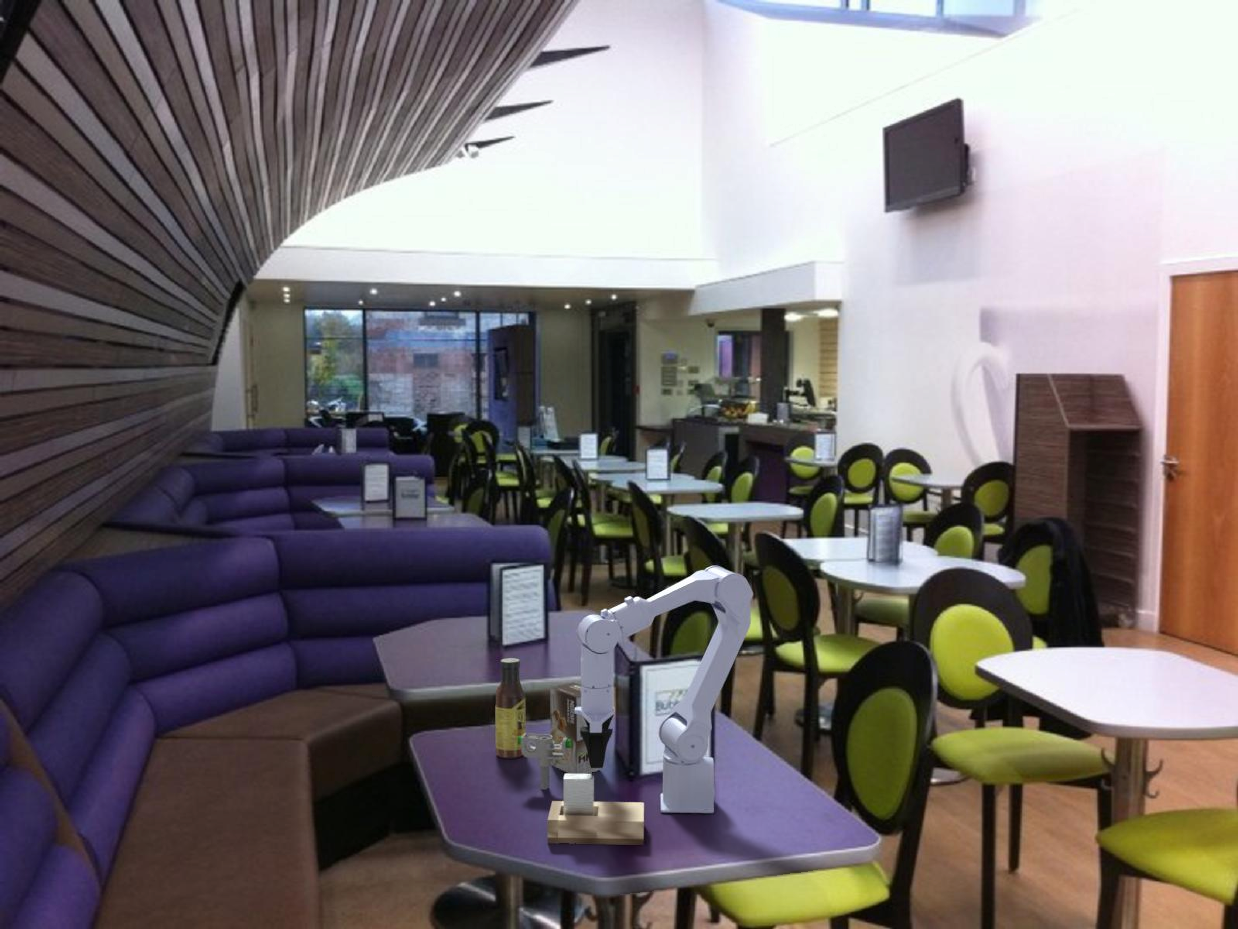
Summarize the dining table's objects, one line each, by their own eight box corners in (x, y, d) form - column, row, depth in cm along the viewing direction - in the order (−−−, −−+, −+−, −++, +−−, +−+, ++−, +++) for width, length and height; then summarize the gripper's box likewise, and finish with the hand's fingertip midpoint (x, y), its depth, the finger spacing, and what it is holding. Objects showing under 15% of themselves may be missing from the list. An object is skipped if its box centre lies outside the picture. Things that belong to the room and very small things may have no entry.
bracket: (593, 825, 177) (593, 774, 176) (593, 831, 175) (593, 779, 174) (564, 824, 177) (564, 773, 177) (563, 830, 175) (563, 779, 174)
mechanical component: (568, 793, 194) (568, 741, 193) (516, 789, 196) (516, 737, 195) (572, 787, 197) (572, 736, 196) (521, 783, 199) (521, 732, 198)
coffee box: (602, 770, 206) (602, 691, 204) (576, 778, 201) (576, 697, 200) (573, 758, 213) (573, 681, 211) (548, 765, 208) (548, 687, 207)
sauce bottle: (523, 760, 211) (523, 664, 210) (493, 760, 211) (493, 664, 210) (527, 749, 218) (526, 656, 216) (497, 749, 218) (497, 656, 216)
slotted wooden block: (643, 825, 180) (643, 802, 179) (643, 845, 172) (643, 821, 171) (552, 823, 180) (552, 801, 180) (547, 843, 172) (547, 820, 172)
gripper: (576, 672, 189) (577, 745, 190) (571, 696, 174) (572, 774, 175) (615, 672, 189) (615, 745, 190) (613, 696, 174) (613, 774, 175)
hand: (597, 759), depth 183 cm, fingers open, 7 cm apart
